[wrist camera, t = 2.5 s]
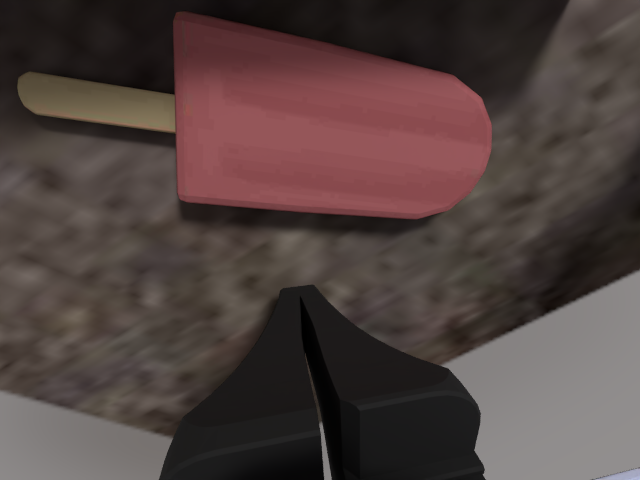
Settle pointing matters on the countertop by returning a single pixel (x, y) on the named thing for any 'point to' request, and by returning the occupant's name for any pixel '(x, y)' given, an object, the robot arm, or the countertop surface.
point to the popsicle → (294, 123)
